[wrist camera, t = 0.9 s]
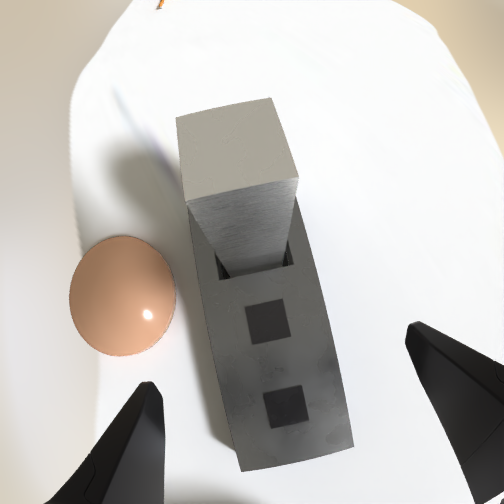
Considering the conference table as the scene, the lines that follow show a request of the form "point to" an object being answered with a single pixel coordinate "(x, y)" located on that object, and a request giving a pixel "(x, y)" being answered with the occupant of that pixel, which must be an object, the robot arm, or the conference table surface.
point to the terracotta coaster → (122, 296)
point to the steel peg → (239, 182)
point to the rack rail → (274, 356)
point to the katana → (161, 3)
